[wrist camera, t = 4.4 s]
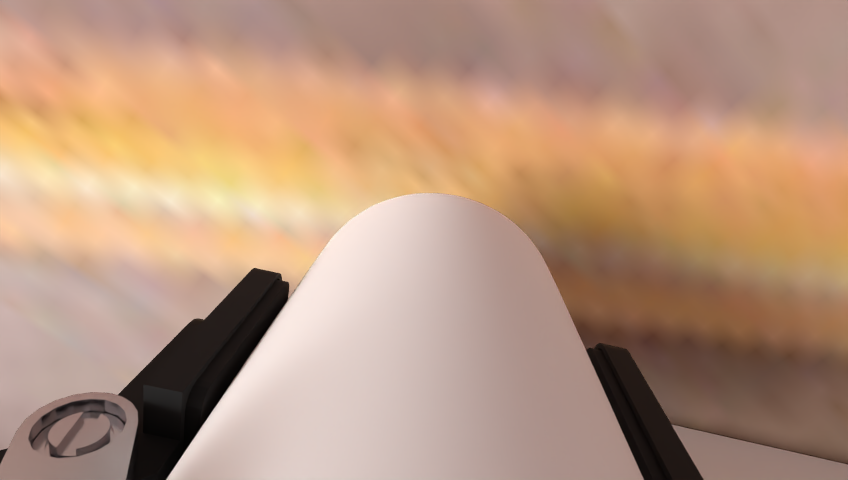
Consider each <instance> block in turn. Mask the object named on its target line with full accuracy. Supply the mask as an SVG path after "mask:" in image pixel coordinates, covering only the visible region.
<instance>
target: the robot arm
mask: <svg viewBox="0 0 848 480" xmlns="http://www.w3.org/2000/svg"><path fill="white" fill-rule="evenodd" d="M288 293H289V283H288V282H285V281H282V277H281V274H280V273H275V272H271V271H266V270H261V269H257V268H253V269H252V270H251V271H250V272H249V273H248V274H247V275H246V276H245V277H244V278H243V280H242V281H241V282H240V283H239V284H238V285H237V286H236V287H235V288H234V289H233V290H232V291H231V292H230V293H229V294H228V295H227V297H226V298H225V299H224V300H223V301H222V302H221V303H220V304H219V305H218V306H217V307H216V308H215V309H214V310H213V311H212V312H211V313H210V315H209V316H208V317H207V318H206V319H205V320H203V319H194V320H192V321H191V322H190V323H189V324H188V325H187V326H186V327H185V328H184V329H183V330H182V331H181V332H180V333H179V334H178V335H177V336H176V337H175V338H174V339H173V340H172V341H171V342H170V343H169V344H168V345H167V346H166V347H165V348H164V349H163V350H162V351H161V352H160V353H159V354H158V355H157V356H156V357H155V358H154V359H153V360H152V361H151V362H150V363H149V364H148V365H147V366H146V367H145V368H144V369H143V370H142V371H141V372H140V373H139V374H138V375H137V376H136V377H135V378H134V379H133V380H132V381H131V382H130V383H129V384H128V385H127V386H126V387H125V388H124V389H123V390H122V391H121V392H120V393H119V394H118V395H114V394H111V393H99V392H90V393H83V394H76V395H71V396H68V397H65V398H62V399H58V400H55V401H53V402H51V403H49V404H47V405H45V406H43V407H41V408H39V409H38V410H37V411H35V412H34V413H33V414H31V415H30V416H29V417H28V418H26V419H25V420H24V422H23V423H22V424H21V426H20V427H19V428H18V430H17V431H16V433H15V435H14V437H13V439H12V441H11V443H10V445H9V447H8V448H7V449H4V450H0V480H166V479H167V478H168V476H169V475H170V473H171V472H172V470H173V469H174V467H175V466H176V464H177V463H178V461H179V460H180V458H181V457H182V455H183V454H184V452H185V451H186V449H187V448H188V446H189V445H190V443H191V442H192V440H193V439H194V438H195V436H196V435H197V433H198V432H199V430H200V429H201V427H202V426H203V424H204V423H205V421H206V420H207V418H208V417H209V415H210V414H211V412H212V411H213V409H214V408H215V407H216V405H217V404H218V402H219V401H220V399H221V398H222V396H223V395H224V393H225V392H226V390H227V389H228V387H229V386H230V384H231V383H232V381H233V380H234V378H235V377H236V376H237V374H238V373H239V371H240V370H241V368H242V367H243V365H244V364H245V362H246V361H247V359H248V358H249V356H250V355H251V353H252V352H253V350H254V349H255V348H256V346H257V345H258V343H259V342H260V340H261V339H262V337H263V336H264V334H265V333H266V331H267V330H268V328H269V327H270V326H271V324H272V323H273V321H274V320H275V318H276V317H277V315H278V314H279V312H280V311H281V309H282V308H283V307H284V305H285V304H286V302H287V301H288ZM586 352H587V354H588V356H589V358H590V361H591V363H592V365H593V367H594V369H595V372H596V374H597V376H598V378H599V381H600V383H601V385H602V387H603V389H604V392H605V394H606V396H607V398H608V401H609V403H610V405H611V407H612V410H613V412H614V414H615V416H616V419H617V421H618V423H619V425H620V428H621V430H622V432H623V434H624V436H625V439H626V441H627V443H628V445H629V448H630V450H631V452H632V454H633V457H634V459H635V461H636V463H637V466H638V468H639V470H640V472H641V475H642V477H643V479H644V480H704V479H703V478H702V476H701V474H700V472H699V471H698V469H697V467H696V466H695V464H694V462H693V461H692V459H691V457H690V455H689V454H688V452H687V450H686V449H685V447H684V445H683V443H682V442H681V440H680V438H679V437H678V435H677V433H676V432H675V430H674V428H673V426H672V425H671V423H670V421H669V420H668V418H667V416H666V415H665V413H664V411H663V409H662V408H661V406H660V404H659V403H658V401H657V399H656V397H655V396H654V394H653V392H652V391H651V389H650V387H649V386H648V384H647V382H646V380H645V379H644V377H643V375H642V374H641V372H640V370H639V369H638V367H637V365H636V363H635V362H634V360H633V358H632V357H631V355H630V353H629V352H628V350H627V349H624V348H619V347H615V346H610V345H606V344H601V343H599V344H597V345H596V346H595V348H594V349H593V348H588V349H587V350H586Z"/></svg>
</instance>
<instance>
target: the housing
mask: <svg viewBox="0 0 848 480" xmlns="http://www.w3.org/2000/svg"><path fill="white" fill-rule="evenodd" d="M671 425H672V424H671ZM672 426H673V428H674V430H675V432H676V433H677V435H678V437H679V438H680V440H681V442H682V443H683V445H684V447H685V449H686V450H687V452H688V454H689V455H690V457H691V459H692V461H693V462H694V464H695V466H696V467H697V469H698V471H699V472H700V474H701V476H702V478H703V479H704V480H848V464H843V463H839V462H835V461H830V460H826V459H821V458H817V457H813V456H808V455H804V454H799V453H795V452H791V451H786V450H782V449H777V448H773V447H769V446H764V445H760V444H755V443H751V442H747V441H742V440H738V439H733V438H729V437H725V436H720V435H716V434H711V433H707V432H703V431H698V430H694V429H689V428H685V427H680V426H676V425H672Z"/></svg>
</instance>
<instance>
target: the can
mask: <svg viewBox="0 0 848 480" xmlns="http://www.w3.org/2000/svg"><path fill="white" fill-rule="evenodd" d="M166 480H644V479H643V477H642V475H641V472H640V470H639V468H638V466H637V463H636V461H635V459H634V457H633V454H632V452H631V450H630V448H629V445H628V443H627V441H626V439H625V436H624V434H623V432H622V430H621V428H620V425H619V423H618V421H617V419H616V416H615V414H614V412H613V410H612V407H611V405H610V403H609V401H608V398H607V396H606V394H605V392H604V389H603V387H602V385H601V383H600V381H599V378H598V376H597V374H596V372H595V369H594V367H593V365H592V363H591V361H590V358H589V356H588V354H587V352H586V349H585V347H584V345H583V343H582V341H581V338H580V336H579V334H578V332H577V329H576V327H575V325H574V323H573V321H572V318H571V316H570V314H569V312H568V310H567V307H566V305H565V303H564V301H563V299H562V296H561V294H560V292H559V290H558V288H557V286H556V283H555V281H554V279H553V277H552V275H551V273H550V271H549V269H548V267H547V265H546V263H545V261H544V259H543V257H542V255H541V254H540V252H539V251H538V249H537V248H536V246H535V245H534V243H533V242H532V241H531V240H530V238H529V237H528V236H527V235H526V234H525V233H524V232H523V231H522V230H521V229H520V228H519V227H518V226H517V225H516V224H515V223H514V222H512V221H511V220H510V219H508V218H507V217H506V216H504V215H503V214H501V213H499V212H498V211H496V210H494V209H492V208H490V207H488V206H486V205H484V204H482V203H479V202H477V201H474V200H471V199H468V198H464V197H460V196H455V195H449V194H440V193H419V194H410V195H404V196H399V197H395V198H392V199H388V200H385V201H383V202H380V203H378V204H376V205H373V206H371V207H369V208H367V209H366V210H364V211H362V212H361V213H359V214H358V215H356V216H355V217H353V218H352V219H351V220H350V221H348V222H347V223H346V224H345V225H344V226H343V227H342V228H341V229H340V230H339V231H338V232H337V233H336V234H335V235H334V236H333V237H332V238H331V240H330V241H329V242H328V244H327V245H326V246H325V248H324V249H323V250H322V252H321V253H320V255H319V256H318V257H317V259H316V260H315V262H314V263H313V264H312V266H311V267H310V269H309V270H308V272H307V273H306V274H305V276H304V277H303V279H302V280H301V282H300V283H299V285H298V286H297V288H296V289H295V290H294V292H293V293H292V295H291V296H290V298H289V299H288V301H287V302H286V304H285V305H284V307H283V308H282V309H281V311H280V312H279V314H278V315H277V317H276V318H275V320H274V321H273V323H272V324H271V326H270V327H269V328H268V330H267V331H266V333H265V334H264V336H263V337H262V339H261V340H260V342H259V343H258V345H257V346H256V348H255V349H254V350H253V352H252V353H251V355H250V356H249V358H248V359H247V361H246V362H245V364H244V365H243V367H242V368H241V370H240V371H239V373H238V374H237V376H236V377H235V378H234V380H233V381H232V383H231V384H230V386H229V387H228V389H227V390H226V392H225V393H224V395H223V396H222V398H221V399H220V401H219V402H218V404H217V405H216V407H215V408H214V409H213V411H212V412H211V414H210V415H209V417H208V418H207V420H206V421H205V423H204V424H203V426H202V427H201V429H200V430H199V432H198V433H197V435H196V436H195V438H194V439H193V440H192V442H191V443H190V445H189V446H188V448H187V449H186V451H185V452H184V454H183V455H182V457H181V458H180V460H179V461H178V463H177V464H176V466H175V467H174V469H173V470H172V472H171V473H170V475H169V476H168V478H167V479H166Z"/></svg>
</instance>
